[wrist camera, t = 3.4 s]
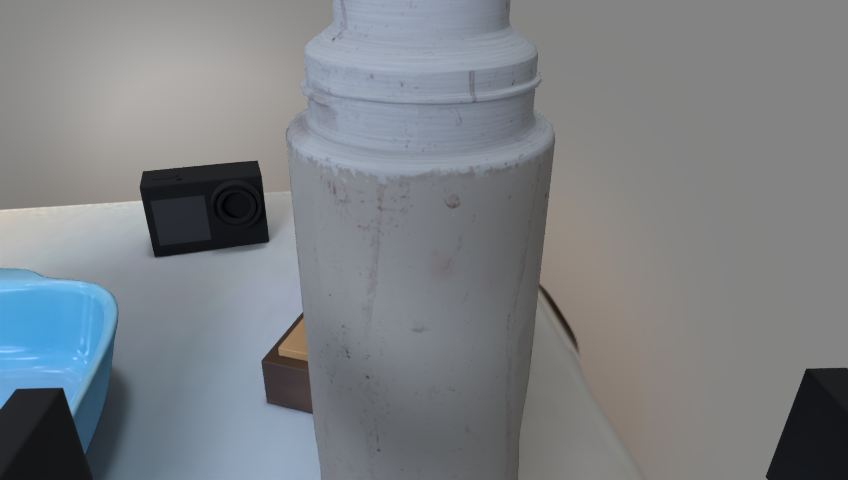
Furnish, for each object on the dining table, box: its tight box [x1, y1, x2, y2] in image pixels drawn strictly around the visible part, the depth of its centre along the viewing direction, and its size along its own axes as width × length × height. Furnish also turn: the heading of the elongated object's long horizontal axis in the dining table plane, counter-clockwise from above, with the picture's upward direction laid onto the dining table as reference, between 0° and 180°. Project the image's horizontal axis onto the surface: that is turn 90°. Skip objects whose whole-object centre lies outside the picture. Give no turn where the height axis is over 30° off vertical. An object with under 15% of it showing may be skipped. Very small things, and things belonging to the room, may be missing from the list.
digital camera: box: [140, 161, 269, 257], centre depth 58 cm, size 10×5×7 cm, turn 108°
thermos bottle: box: [286, 0, 555, 480], centre depth 22 cm, size 8×8×28 cm
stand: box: [262, 313, 313, 413], centre depth 43 cm, size 14×14×4 cm
